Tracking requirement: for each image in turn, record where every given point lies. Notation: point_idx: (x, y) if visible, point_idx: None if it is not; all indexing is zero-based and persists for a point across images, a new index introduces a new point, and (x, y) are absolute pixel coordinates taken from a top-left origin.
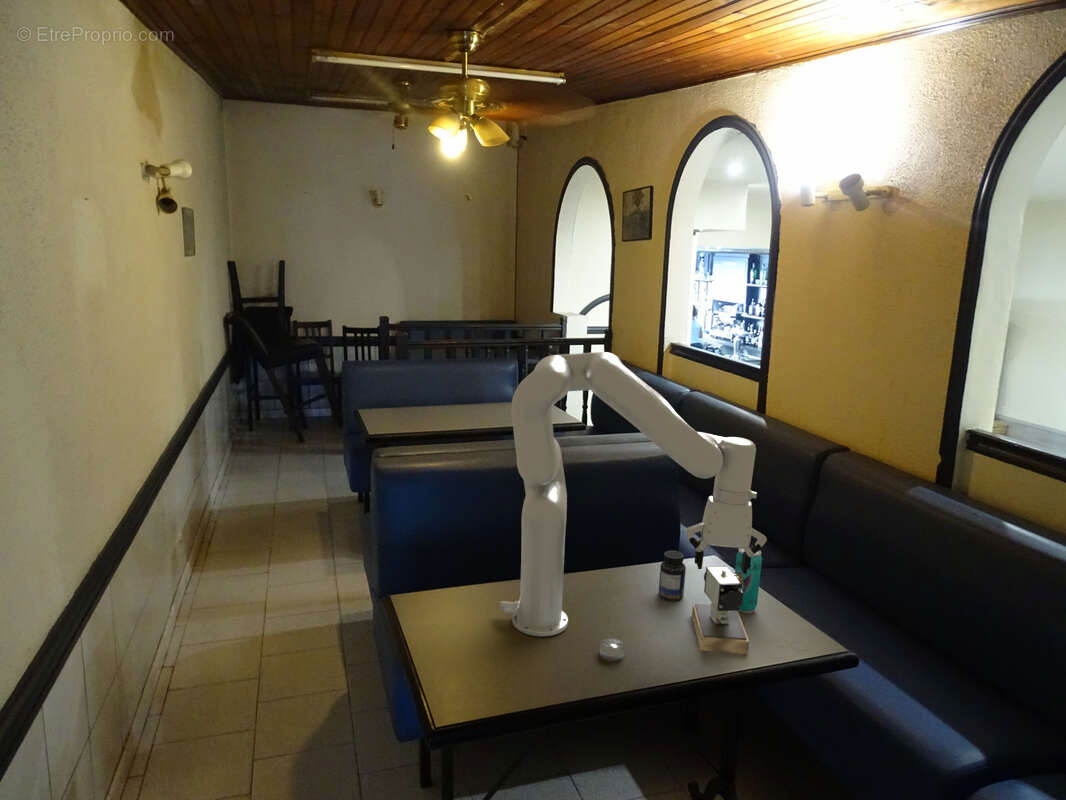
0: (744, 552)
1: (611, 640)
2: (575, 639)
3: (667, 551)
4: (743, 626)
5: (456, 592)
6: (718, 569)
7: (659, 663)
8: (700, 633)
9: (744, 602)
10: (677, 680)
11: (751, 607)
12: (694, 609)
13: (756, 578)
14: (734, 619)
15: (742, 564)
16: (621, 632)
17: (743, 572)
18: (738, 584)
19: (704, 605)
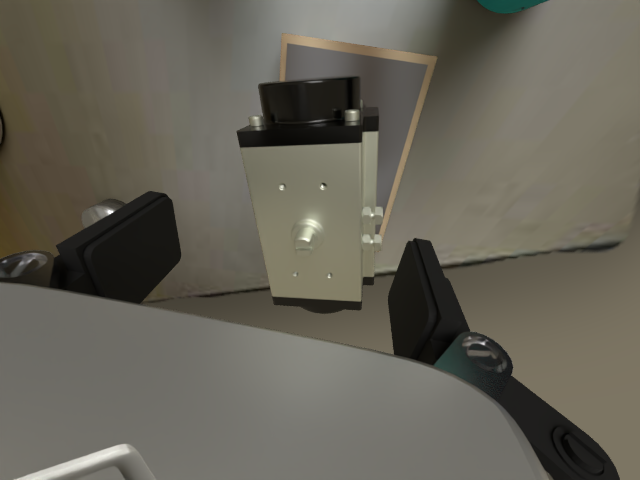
0: (430, 342)
1: (98, 213)
2: (41, 163)
3: None
4: (397, 187)
5: None
6: (298, 170)
7: (202, 248)
8: None
9: (496, 5)
10: (230, 289)
11: (521, 10)
12: (280, 78)
13: None
14: (384, 158)
15: (403, 289)
16: (117, 137)
17: (388, 301)
18: (347, 307)
19: (316, 57)
